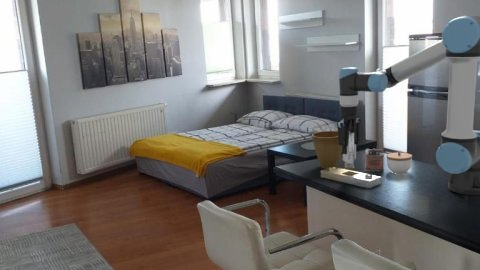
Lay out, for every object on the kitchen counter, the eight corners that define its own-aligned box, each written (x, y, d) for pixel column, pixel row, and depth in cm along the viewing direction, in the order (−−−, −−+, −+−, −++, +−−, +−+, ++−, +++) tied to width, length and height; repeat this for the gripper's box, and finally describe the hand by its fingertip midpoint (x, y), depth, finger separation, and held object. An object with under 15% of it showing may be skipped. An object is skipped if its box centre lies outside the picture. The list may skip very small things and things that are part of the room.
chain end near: (381, 183, 199) (381, 174, 198) (369, 188, 194) (369, 178, 193) (350, 177, 211) (350, 168, 210) (338, 181, 206) (338, 172, 205)
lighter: (364, 170, 219) (364, 149, 217) (366, 168, 222) (366, 147, 220) (383, 172, 216) (382, 150, 214) (384, 170, 219) (384, 148, 217)
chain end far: (361, 179, 207) (361, 170, 206) (349, 183, 202) (349, 174, 201) (332, 173, 219) (332, 164, 218) (320, 176, 214) (320, 168, 213)
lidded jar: (415, 175, 208) (415, 153, 207) (390, 176, 209) (390, 155, 207) (407, 168, 219) (407, 148, 217) (383, 169, 219) (383, 149, 217)
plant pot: (323, 161, 240) (322, 129, 237) (350, 165, 230) (350, 132, 227) (306, 168, 229) (305, 135, 226) (334, 172, 219) (333, 138, 216)
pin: (356, 167, 205) (356, 132, 202) (350, 169, 203) (350, 134, 200) (348, 165, 208) (348, 131, 205) (342, 167, 206) (342, 132, 203)
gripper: (354, 102, 208) (354, 154, 213) (328, 107, 198) (329, 162, 202) (368, 103, 203) (369, 157, 207) (343, 108, 192) (343, 165, 197)
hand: (349, 159), depth 205 cm, fingers closed on pin, 4 cm apart
